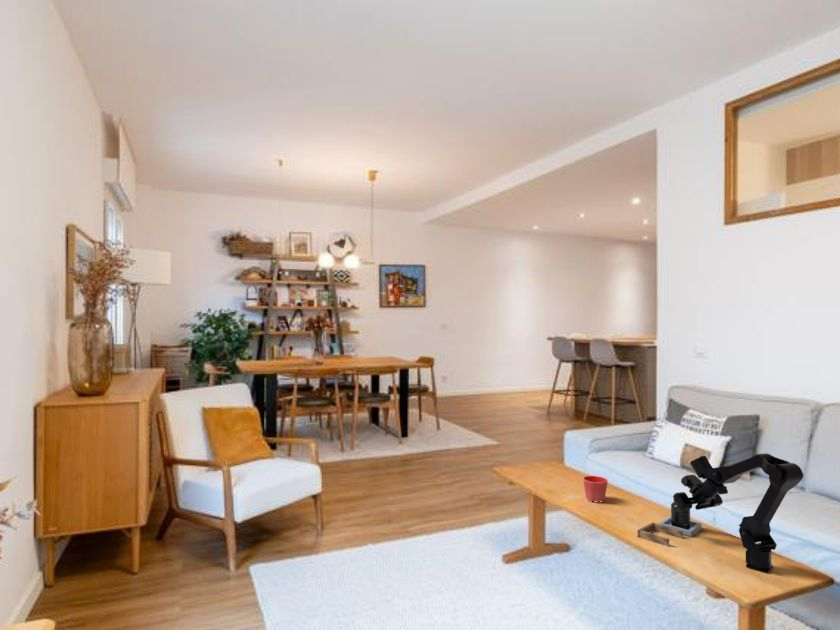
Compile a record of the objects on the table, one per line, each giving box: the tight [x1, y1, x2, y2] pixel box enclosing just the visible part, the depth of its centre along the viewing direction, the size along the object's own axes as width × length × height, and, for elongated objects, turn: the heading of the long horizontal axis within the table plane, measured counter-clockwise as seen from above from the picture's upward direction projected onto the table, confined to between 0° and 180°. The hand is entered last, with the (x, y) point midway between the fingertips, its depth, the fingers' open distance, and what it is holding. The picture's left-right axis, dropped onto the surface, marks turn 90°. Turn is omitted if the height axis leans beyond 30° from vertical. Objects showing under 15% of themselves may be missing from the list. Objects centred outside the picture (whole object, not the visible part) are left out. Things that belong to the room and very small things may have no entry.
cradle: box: [637, 522, 683, 547], centre depth 203 cm, size 12×12×2 cm
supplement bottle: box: [670, 498, 691, 530], centre depth 211 cm, size 7×7×12 cm
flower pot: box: [582, 475, 609, 503], centre depth 246 cm, size 11×11×10 cm
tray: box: [657, 515, 703, 538], centre depth 211 cm, size 12×12×2 cm
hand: (686, 509), depth 208 cm, fingers open, 9 cm apart
